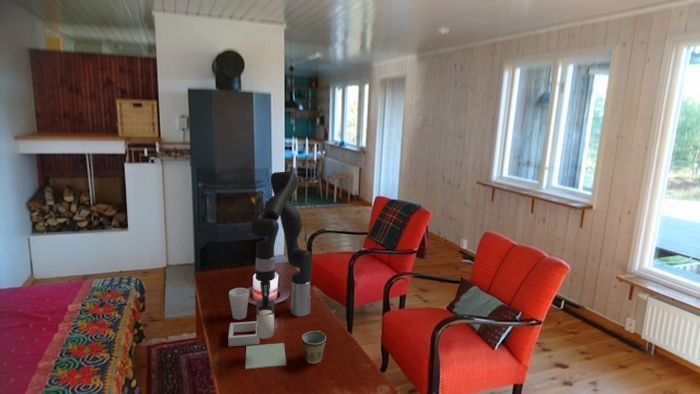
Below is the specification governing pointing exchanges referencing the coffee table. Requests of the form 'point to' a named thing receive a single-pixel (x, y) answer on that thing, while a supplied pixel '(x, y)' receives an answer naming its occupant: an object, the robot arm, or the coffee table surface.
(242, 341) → the frame
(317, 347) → the ceramic cup
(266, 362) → the mat
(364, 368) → the coffee table surface
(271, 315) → the egg with flat handle
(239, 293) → the foam cup
